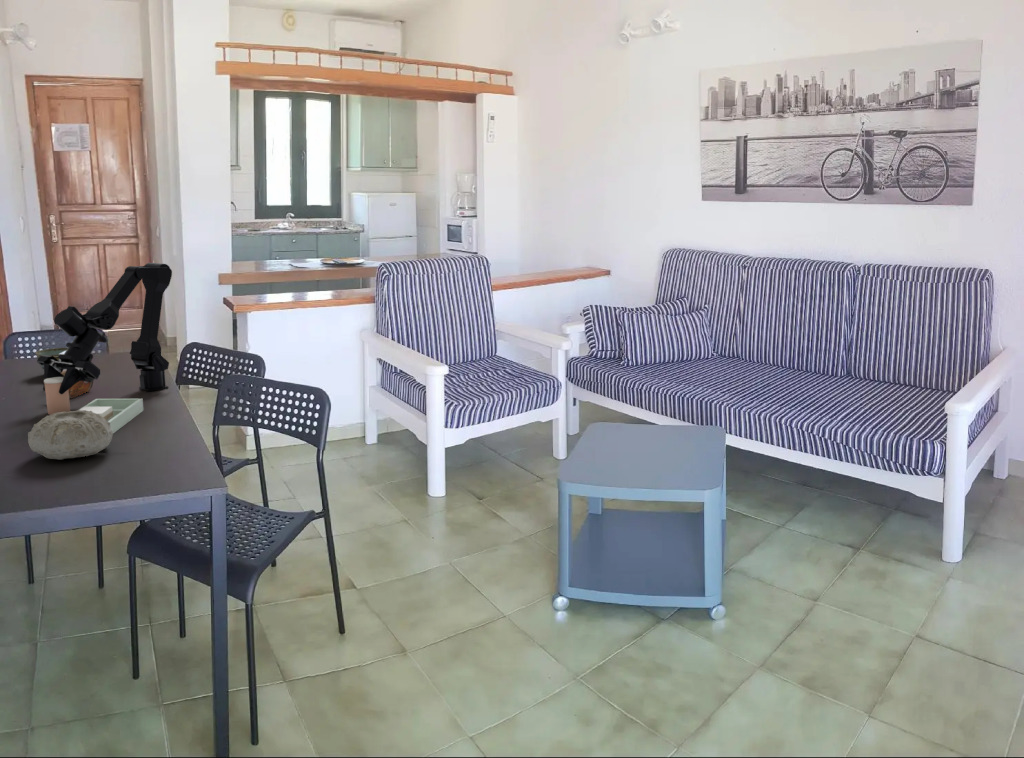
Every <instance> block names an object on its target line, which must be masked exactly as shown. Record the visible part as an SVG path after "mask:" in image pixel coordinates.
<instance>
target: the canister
mask: <svg viewBox="0 0 1024 758" xmlns="http://www.w3.org/2000/svg"><path fill="white" fill-rule="evenodd" d="M63 378H64V377H52V378H47V379H44V378H43V385H44V384H45V391H44V392H45V398H46V399H45V400H46V401H45V402H46V408H47V409H46V410H47V414H48V416H49V415H52V414H53V413H54V414H55V413H58V412H64V411H65V412H70V411H71V404H70V402H71V401H70V399H69V392H68V390H67V391H66V392H65V393H63V394H60V393H59V389H60V386H61V383H62V381H63Z"/></svg>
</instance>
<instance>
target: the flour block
mask: <svg viewBox="0 0 1024 758" xmlns="http://www.w3.org/2000/svg"><path fill="white" fill-rule="evenodd" d="M82 407H83V408H82ZM82 407H81V408H82V409H81V408H79V409H80V410H87V411H92V412H93V413H96V414H99V415H100V416H102V417H103V418H104V419H106V420H107V421H109V420H110V419H112V418H113V410H112V407H84V406H82Z"/></svg>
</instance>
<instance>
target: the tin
mask: <svg viewBox="0 0 1024 758" xmlns="http://www.w3.org/2000/svg"><path fill="white" fill-rule="evenodd" d="M65 373H66V370H64V371H62V372H61V374H62V375H64V376H65ZM93 384H94V380H93V381H92V382H87V381H79V382H77V383H76V384H75V385H73V386H72V387H71V388H70V389H68V392H69V400H71V399H73V398H76V397H78V395H79V396H81V394H82V395H84V394H83V393H85V394H87V393H89V392H90V391H91V389H92V388H93ZM86 392H87V393H86ZM70 398H71V399H70Z"/></svg>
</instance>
